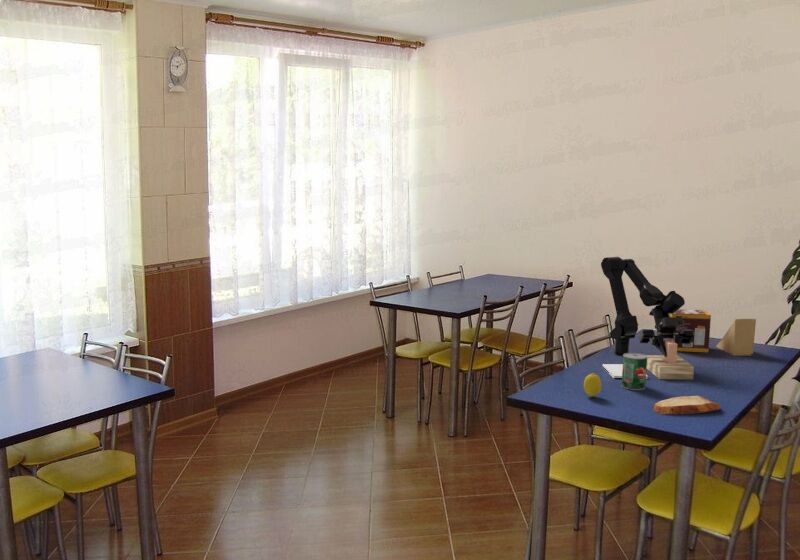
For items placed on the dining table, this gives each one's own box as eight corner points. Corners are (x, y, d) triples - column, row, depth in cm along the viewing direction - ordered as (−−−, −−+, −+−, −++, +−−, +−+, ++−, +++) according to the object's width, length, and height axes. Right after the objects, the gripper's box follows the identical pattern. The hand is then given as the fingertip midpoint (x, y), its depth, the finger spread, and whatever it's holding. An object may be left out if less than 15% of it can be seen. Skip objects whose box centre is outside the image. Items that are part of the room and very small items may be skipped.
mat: (602, 366, 292) (602, 364, 292) (634, 367, 292) (634, 364, 292) (613, 378, 276) (613, 375, 276) (647, 378, 276) (647, 376, 276)
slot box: (645, 367, 292) (645, 355, 291) (677, 367, 292) (678, 355, 291) (659, 379, 276) (659, 366, 275) (693, 379, 276) (693, 366, 275)
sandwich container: (735, 346, 326) (737, 311, 324) (753, 355, 311) (756, 318, 309) (715, 346, 326) (717, 311, 324) (732, 355, 311) (735, 318, 308)
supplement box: (664, 345, 327) (666, 308, 325) (702, 346, 325) (705, 309, 323) (669, 350, 317) (671, 313, 315) (708, 352, 315) (711, 314, 313)
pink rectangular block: (662, 365, 286) (663, 340, 285) (670, 365, 286) (671, 340, 285) (667, 369, 281) (669, 344, 279) (675, 369, 281) (677, 344, 279)
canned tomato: (644, 391, 261) (646, 359, 259) (620, 388, 264) (622, 357, 262) (646, 385, 268) (647, 353, 267) (622, 382, 271) (624, 351, 269)
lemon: (581, 394, 257) (582, 370, 256) (598, 394, 257) (599, 371, 256) (585, 399, 252) (586, 375, 250) (602, 399, 251) (603, 375, 250)
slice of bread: (650, 413, 240) (650, 401, 239) (663, 398, 255) (664, 387, 254) (711, 424, 230) (712, 411, 230) (722, 407, 245) (723, 396, 245)
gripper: (643, 307, 284) (650, 344, 275) (694, 308, 284) (703, 344, 275) (635, 324, 293) (642, 360, 284) (685, 324, 293) (694, 361, 284)
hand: (670, 356), depth 281 cm, fingers open, 3 cm apart
